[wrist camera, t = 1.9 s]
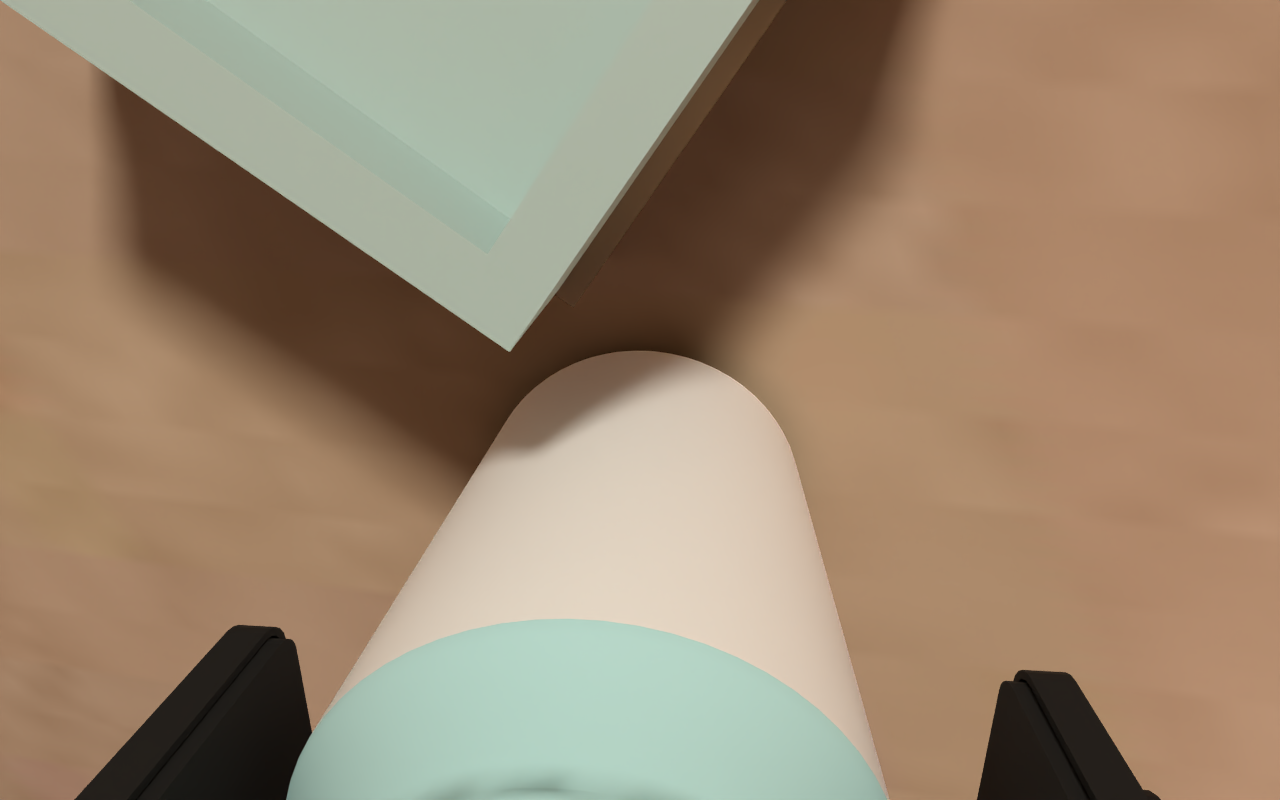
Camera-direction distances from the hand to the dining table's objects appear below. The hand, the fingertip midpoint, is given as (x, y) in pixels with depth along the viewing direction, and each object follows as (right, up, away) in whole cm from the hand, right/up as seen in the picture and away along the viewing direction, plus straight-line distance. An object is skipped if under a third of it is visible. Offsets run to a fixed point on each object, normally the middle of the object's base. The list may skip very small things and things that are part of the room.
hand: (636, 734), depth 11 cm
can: (0, +2, +8) cm, 9 cm away
